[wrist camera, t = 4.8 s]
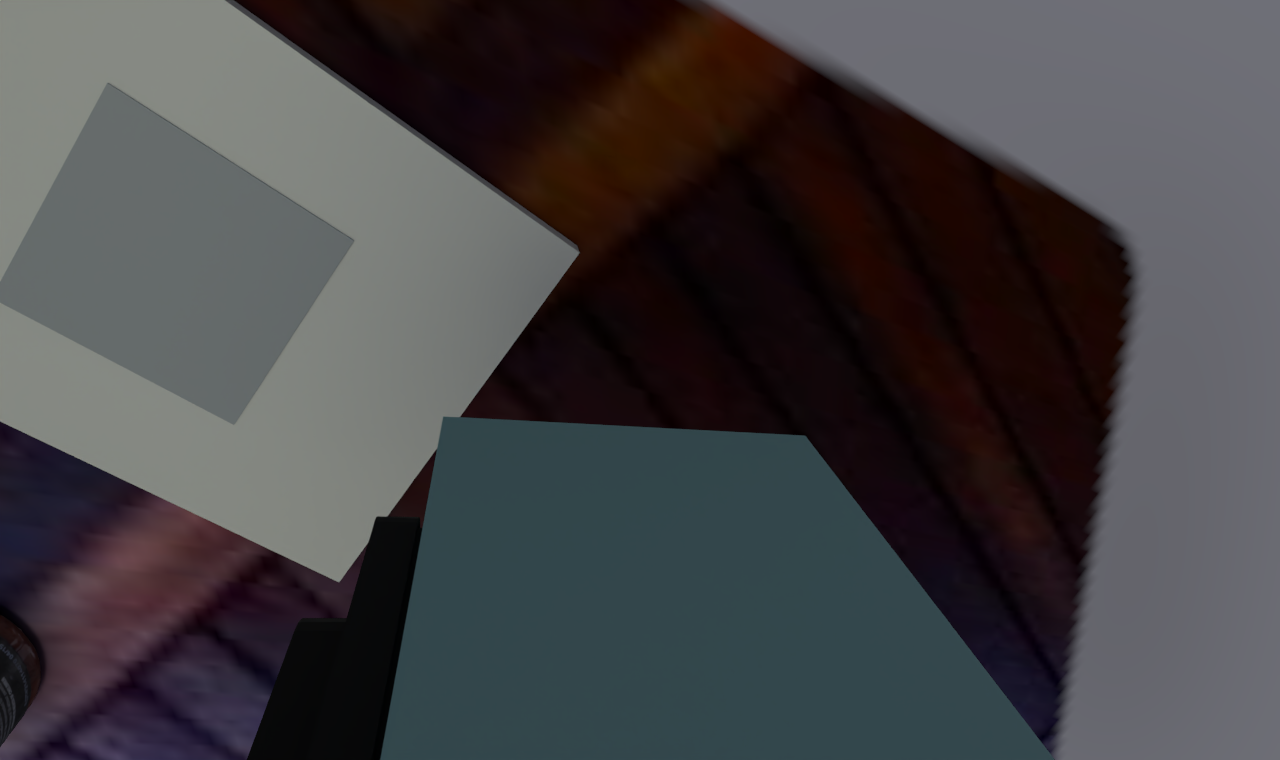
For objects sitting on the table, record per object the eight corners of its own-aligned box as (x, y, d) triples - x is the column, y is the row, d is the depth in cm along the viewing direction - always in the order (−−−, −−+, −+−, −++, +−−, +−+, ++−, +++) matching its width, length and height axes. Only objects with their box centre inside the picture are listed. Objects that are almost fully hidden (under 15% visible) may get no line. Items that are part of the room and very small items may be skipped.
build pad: (577, 245, 25) (579, 253, 24) (345, 565, 28) (338, 584, 27) (-39, -194, 19) (-71, -209, 18) (-251, 276, 22) (-289, 286, 21)
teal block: (804, 435, 11) (1092, 807, 6) (742, 706, 13) (912, 1186, 7) (442, 416, 10) (366, 839, 5) (430, 712, 12) (363, 1266, 7)
